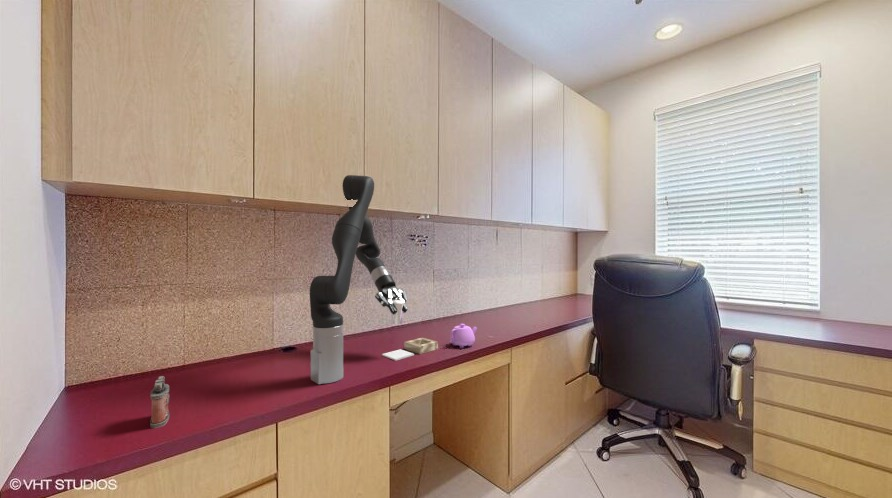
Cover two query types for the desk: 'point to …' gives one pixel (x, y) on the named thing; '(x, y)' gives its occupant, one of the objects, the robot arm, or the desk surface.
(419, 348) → the holder
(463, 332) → the teapot
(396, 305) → the milkshake
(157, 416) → the lighter
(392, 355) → the mat
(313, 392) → the desk surface
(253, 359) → the desk surface
